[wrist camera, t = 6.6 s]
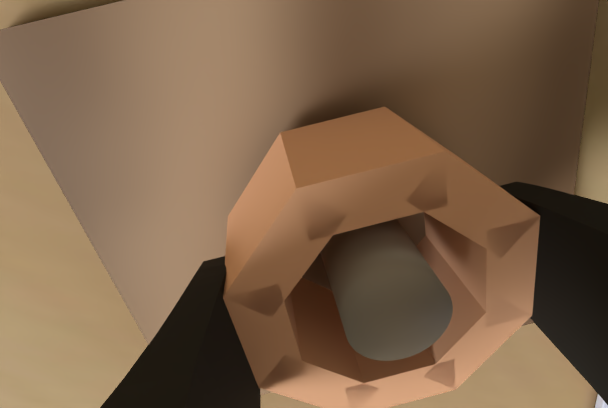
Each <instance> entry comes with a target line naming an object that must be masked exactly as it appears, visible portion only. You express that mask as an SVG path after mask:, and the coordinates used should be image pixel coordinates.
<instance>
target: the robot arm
mask: <svg viewBox="0 0 608 408" xmlns="http://www.w3.org/2000/svg"><path fill="white" fill-rule="evenodd" d="M500 187H501V188H503V189H504V190H505V191H507V192H508V193H509V194H511V195H512V196H513V197H515V198H516V199H518V200H519V201H520V202H522V203H523V204H525V205H526V206H527V207H529V208H530V209H531V210H533V211H534V212H536V213H537V214H538V215H540V225H539V237H538V250H537V262H536V274H535V287H534V299H533V312H532V316H531V317H530V318H531V319H532V320H533V322H534V323H535V324H536V325H537V326H538V327H539V328H540V329H541V331H542V332H543V333H544V334H545V335H546V336H547V337H548V338H549V339H550V340H551V342H552V343H553V344H554V345H555V346H556V347H557V348H558V349H559V350H560V352H561V353H562V354H563V355H564V356H565V357H566V358H567V359H568V360H569V361H570V363H571V364H572V365H573V366H574V367H575V368H576V369H577V370H578V371H579V373H580V374H581V375H582V376H583V377H584V378H585V379H586V380H587V381H588V382H589V384H590V385H591V386H592V387H593V388H594V389H595V391H596V392H597V393H598V396H597V400H596V405H595V408H608V204H606V203H602V202H599V201H595V200H591V199H588V198H584V197H580V196H576V195H573V194H569V193H565V192H561V191H558V190H554V189H550V188H546V187H542V186H537V185H533V184H528V183H522V182H513V183H509V184H505V185H501V186H500ZM225 278H226V266H225V256H223V257H219V258H215V259H211V260H207V261H203V263H202V264H201V266H200V267H199V269H198V270H197V272H196V273H195V275H194V277H193V278H192V280H191V281H190V283H189V284H188V286H187V288H186V289H185V291H184V292H183V294H182V296H181V297H180V299H179V300H178V302H177V303H176V305H175V307H174V308H173V310H172V311H171V313H170V314H169V316H168V317H167V319H166V320H165V322H164V323H163V325H162V326H161V328H160V329H159V331H158V332H157V334H156V335H155V337H154V338H153V339H152V341H151V342H150V343H149V345H148V346H147V348H146V349H145V350H144V352H143V353H142V354H141V356H140V357H139V358H138V360H137V361H136V363H135V364H134V365H133V367H132V368H131V369H130V371H129V372H128V374H127V375H126V376H125V378H124V379H123V380H122V381H121V383H120V384H119V385H118V386H117V388H116V389H115V390H114V391H113V393H112V394H111V395H110V396H109V398H108V399H107V400H106V401H105V403H104V404H103V405H102V406H101V407H100V408H260V388H259V387H258V384H257V382H256V379H255V377H254V374H253V372H252V369H251V367H250V364H249V362H248V359H247V357H246V354H245V352H244V349H243V347H242V344H241V342H240V339H239V337H238V334H237V332H236V329H235V327H234V324H233V322H232V319H231V317H230V314H229V312H228V309H227V307H226V304H225V302H224V299H223V293H224V285H225Z"/></svg>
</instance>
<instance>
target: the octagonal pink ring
mask: <svg viewBox="0 0 608 408" xmlns="http://www.w3.org/2000/svg"><path fill="white" fill-rule="evenodd" d="M421 212H424V221H425V234H426V235H425V236H424V238H423V239H422V240H421V241H420V242H419V244H418V245H417V246H416V247H417V249H418V250H419V251H420V253H421V254H422V256H423V257H424V259H425V260H426V261H427V263H428V264H429V266H430V267H431V269H432V270H433V271H434V273H435V274H436V276H437V277H438V279H439V280H440V281H441V283H442V284H443V286H444V287H445V289H446V290H447V291H448V293H449V295H450V297H451V300H452V305H453V312H452V317H451V320H450V323H449V325H448V327H447V329H446V330H445V332H444V333H443V334H442V335H441V337H440V338H439V339H438V340H437V341H436V342H435V343H433V344H432V345H431V346H430V347H428V348H427V349H425V350H423V351H422V352H420V353H418V354H415V355H413V356H410V357H407V358H404V359H399V360H392V361H380V360H374V359H370V358H367V357H365V356H362V355H361V354H359V353H358V352H356V351H355V350H354V349H353V348H352V347H351V345H350V344H349V342H348V340H347V337H346V334H345V331H344V328H343V324H342V321H341V318H340V315H339V311H338V308H337V305H336V302H335V298H334V295H333V292H332V291H331V290H329V289H327V288H325V287H322V286H320V285H318V284H316V283H313V282H311V281H309V280H307V279H304V278H302V276H303V275H304V274H305V272H306V271H307V270H308V268H309V267H310V265H311V264H312V263H313V261H314V260H315V259H316V257H317V256H318V255H319V253H320V252H321V251H322V249H323V248H324V247H325V245H326V244H327V243H328V241H329V240H330V239H331V237H332V236H333V235H335V234H339V233H343V232H347V231H351V230H355V229H359V228H363V227H367V226H370V225H374V224H378V223H382V222H386V221H390V220H394V219H398V218H402V217H406V216H410V215H414V214H417V213H421ZM539 225H540V215H538V214H537V213H536V212H534V211H533V210H531V209H530V208H529V207H527V206H526V205H525V204H523V203H522V202H520V201H519V200H518V199H516V198H515V197H513V196H512V195H511V194H509V193H508V192H507V191H505V190H504V189H503V188H501V187H500V186H498V185H497V184H496V183H494V182H493V181H491V180H490V179H489V178H487V177H486V176H485V175H483V174H482V173H480V172H479V171H478V170H476V169H475V168H473V167H472V166H471V165H469V164H468V163H467V162H465V161H464V160H462V159H461V158H460V157H458V156H457V155H455V154H454V153H452V152H451V151H449V150H448V149H446V148H445V147H443V146H442V145H441V144H439V143H438V142H436V141H435V140H433V139H432V138H430V137H429V136H427V135H426V134H424V133H423V132H422V131H420V130H419V129H417V128H416V127H414V126H413V125H411V124H410V123H408V122H407V121H405V120H404V119H403V118H401V117H400V116H398V115H397V114H395V113H394V112H392V111H391V110H389V109H388V108H386V107H381V108H377V109H373V110H368V111H364V112H360V113H356V114H352V115H348V116H344V117H340V118H336V119H332V120H328V121H324V122H320V123H316V124H312V125H308V126H304V127H300V128H296V129H292V130H288V131H284V132H280V133H279V135H278V137H277V138H276V140H275V141H274V143H273V145H272V146H271V148H270V149H269V151H268V153H267V154H266V156H265V157H264V159H263V161H262V162H261V164H260V165H259V167H258V169H257V170H256V172H255V174H254V175H253V177H252V178H251V180H250V182H249V183H248V185H247V186H246V188H245V190H244V191H243V193H242V194H241V196H240V198H239V199H238V201H237V202H236V204H235V206H234V207H233V209H232V210H231V212H230V214H229V215H228V222H227V237H226V253H225V266H226V278H225V285H224V293H223V299H224V302H225V304H226V307H227V309H228V312H229V314H230V317H231V319H232V322H233V324H234V327H235V329H236V332H237V334H238V337H239V339H240V342H241V344H242V347H243V349H244V352H245V354H246V357H247V359H248V362H249V364H250V367H251V369H252V372H253V374H254V377H255V379H256V382H257V384H258V387H259V388H262V389H265V390H268V391H271V392H274V393H277V394H280V395H284V396H287V397H290V398H293V399H296V400H299V401H303V402H306V403H309V404H312V405H315V406H318V407H321V408H388V407H392V406H396V405H400V404H403V403H407V402H411V401H415V400H418V399H422V398H426V397H430V396H433V395H437V394H441V393H445V392H448V391H452V390H456V389H457V388H458V387H459V386H460V385H461V384H462V383H463V382H464V381H465V380H466V379H467V378H468V377H469V376H470V375H471V374H472V373H473V372H474V371H475V370H476V369H477V368H478V367H479V366H480V365H481V364H483V363H484V362H485V361H486V360H487V359H488V358H489V357H490V356H491V355H492V354H493V353H494V352H495V351H496V350H497V349H498V348H499V347H500V346H501V345H502V344H503V343H504V342H505V341H506V340H507V339H508V338H509V337H510V336H511V335H513V334H514V333H515V332H516V331H517V330H518V329H519V328H520V327H521V326H522V325H523V324H524V323H525V322H526V321H527V320H528V319H529V318H530V317H531V316H532V312H533V299H534V287H535V274H536V262H537V250H538V237H539Z"/></svg>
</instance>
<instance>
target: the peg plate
mask: <svg viewBox="0 0 608 408" xmlns="http://www.w3.org/2000/svg"><path fill="white" fill-rule="evenodd" d="M598 4H599V0H123V1H119V2H115V3H110V4H106V5H102V6H98V7H93V8H89V9H85V10H81V11H77V12H72V13H68V14H64V15H60V16H56V17H51V18H47V19H43V20H39V21H35V22H30V23H26V24H22V25H18V26H14V27H9V28H5V29H1V30H0V81H1V83H2V85H3V87H4V88H5V90H6V92H7V94H8V96H9V97H10V99H11V101H12V103H13V104H14V106H15V108H16V110H17V112H18V113H19V115H20V117H21V119H22V120H23V122H24V124H25V126H26V128H27V129H28V131H29V133H30V135H31V137H32V138H33V140H34V142H35V144H36V145H37V147H38V149H39V151H40V153H41V154H42V156H43V158H44V160H45V161H46V163H47V165H48V167H49V169H50V170H51V172H52V174H53V176H54V178H55V179H56V181H57V183H58V185H59V186H60V188H61V190H62V192H63V194H64V195H65V197H66V199H67V201H68V202H69V204H70V206H71V208H72V210H73V211H74V213H75V215H76V217H77V218H78V220H79V222H80V224H81V226H82V227H83V229H84V231H85V233H86V235H87V236H88V238H89V240H90V242H91V243H92V245H93V247H94V249H95V251H96V252H97V254H98V256H99V258H100V259H101V261H102V263H103V265H104V267H105V268H106V270H107V272H108V274H109V276H110V277H111V279H112V281H113V283H114V284H115V286H116V288H117V290H118V292H119V293H120V295H121V297H122V299H123V300H124V302H125V304H126V306H127V308H128V309H129V311H130V313H131V315H132V317H133V318H134V320H135V322H136V324H137V325H138V327H139V329H140V331H141V333H142V334H143V336H144V338H145V340H146V341H147V343H148V345H149V343H150V342H151V341H152V339H153V338H154V337H155V335H156V334H157V332H158V331H159V329H160V328H161V326H162V325H163V323H164V322H165V320H166V319H167V317H168V316H169V314H170V313H171V311H172V310H173V308H174V307H175V305H176V303H177V302H178V300H179V299H180V297H181V296H182V294H183V292H184V291H185V289H186V288H187V286H188V284H189V283H190V281H191V280H192V278H193V277H194V275H195V273H196V272H197V270H198V269H199V267H200V266H201V264H202V263H203V261H207V260H211V259H215V258H219V257H223V256H225V253H226V237H227V222H228V215H229V214H230V212H231V210H232V209H233V207H234V206H235V204H236V202H237V201H238V199H239V198H240V196H241V194H242V193H243V191H244V190H245V188H246V186H247V185H248V183H249V182H250V180H251V178H252V177H253V175H254V174H255V172H256V170H257V169H258V167H259V165H260V164H261V162H262V161H263V159H264V157H265V156H266V154H267V153H268V151H269V149H270V148H271V146H272V145H273V143H274V141H275V140H276V138H277V137H278V135H279V133H280V132H284V131H288V130H292V129H296V128H300V127H304V126H308V125H312V124H316V123H320V122H324V121H328V120H332V119H336V118H340V117H344V116H348V115H352V114H356V113H360V112H364V111H368V110H373V109H377V108H381V107H386V108H388V109H389V110H391V111H392V112H394V113H395V114H397V115H398V116H400V117H401V118H403V119H404V120H405V121H407V122H408V123H410V124H411V125H413V126H414V127H416V128H417V129H419V130H420V131H422V132H423V133H424V134H426V135H427V136H429V137H430V138H432V139H433V140H435V141H436V142H438V143H439V144H441V145H442V146H443V147H445V148H446V149H448V150H449V151H451V152H452V153H454V154H455V155H457V156H458V157H460V158H461V159H462V160H464V161H465V162H467V163H468V164H469V165H471V166H472V167H473V168H475V169H476V170H478V171H479V172H480V173H482V174H483V175H485V176H486V177H487V178H489V179H490V180H491V181H493V182H494V183H496V184H497V185H498V186H501V185H505V184H509V183H513V182H522V183H528V184H533V185H537V186H542V187H546V188H550V189H554V190H558V191H561V192H565V193H569V194H573V195H574V190H575V182H576V174H577V167H578V159H579V151H580V143H581V136H582V128H583V120H584V112H585V105H586V97H587V89H588V81H589V74H590V66H591V58H592V50H593V43H594V35H595V27H596V19H597V12H598ZM425 235H426V234H425V221H424V212H421V213H417V214H414V215H410V216H406V217H402V218H398V219H394V220H390V221H386V222H382V223H378V224H374V225H370V226H367V227H363V228H359V229H355V230H351V231H347V232H343V233H339V234H335V235H333V236H332V237H331V239H330V240H329V241H328V243H327V244H326V245H325V247H324V248H323V249H322V251H321V252H320V253H319V255H318V256H317V257H316V259H315V260H314V261H313V263H312V264H311V265H310V267H309V268H308V270H307V271H306V272H305V274H304V275H303V276H302V278H304V279H307V280H309V281H311V282H313V283H316V284H318V285H320V286H322V287H325V288H327V289H329V290H331V291H332V292H333V295H334V298H335V302H336V305H337V308H338V311H339V315H340V318H341V321H342V324H343V328H344V331H345V334H346V337H347V340H348V342H349V344H350V345H351V347H352V348H353V349H354V350H355V351H356V352H358V353H359V354H361V355H362V356H365V357H367V358H370V359H374V360H380V361H392V360H399V359H404V358H407V357H410V356H413V355H415V354H418V353H420V352H422V351H423V350H425V349H427V348H428V347H430V346H431V345H432V344H433V343H435V342H436V341H437V340H438V339H439V338H440V337H441V335H442V334H443V333H444V332H445V330H446V329H447V327H448V325H449V323H450V320H451V317H452V312H453V305H452V300H451V297H450V295H449V293H448V291H447V290H446V289H445V287H444V286H443V284H442V283H441V281H440V280H439V279H438V277H437V276H436V274H435V273H434V271H433V270H432V269H431V267H430V266H429V264H428V263H427V261H426V260H425V259H424V257H423V256H422V254H421V253H420V251H419V250H418V249H417V247H416V246H417V245H418V244H419V242H420V241H421V240H422V239H423V238H424V236H425ZM531 323H534V322H533V320H532V319H531V318H529V319H528V320H527V321H526V322H525V323H524V324H523V325H527V324H531ZM523 325H522V326H523ZM270 392H271V391H268V390H265V389H262V388H260V395H263V394H266V393H270Z"/></svg>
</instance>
